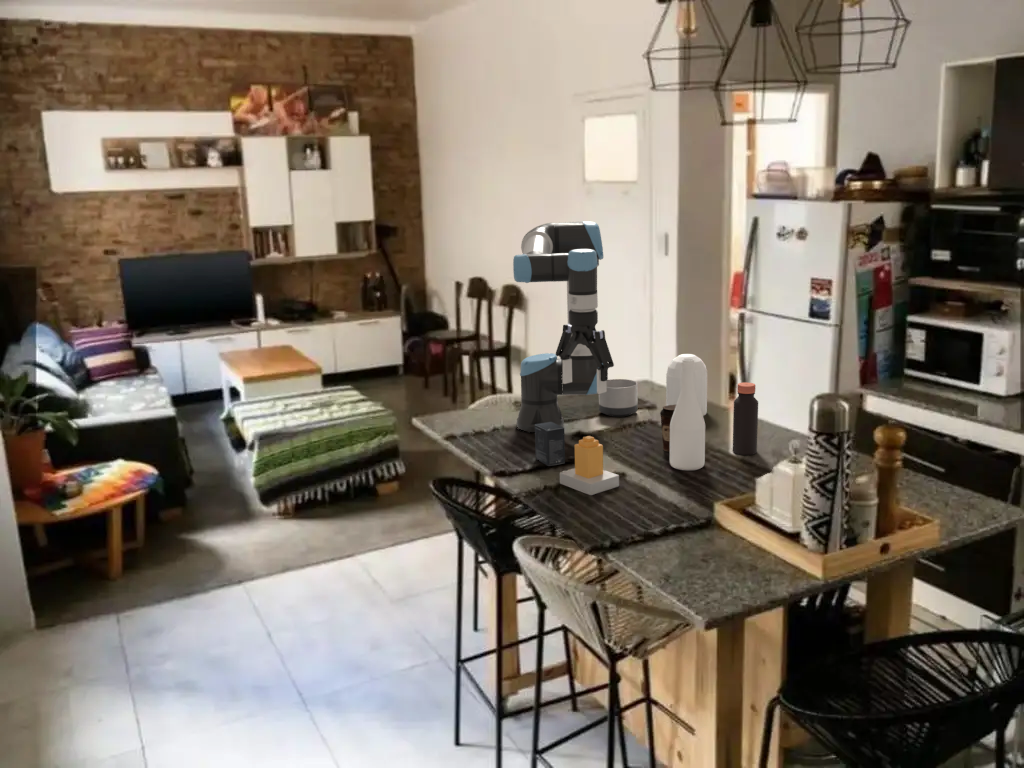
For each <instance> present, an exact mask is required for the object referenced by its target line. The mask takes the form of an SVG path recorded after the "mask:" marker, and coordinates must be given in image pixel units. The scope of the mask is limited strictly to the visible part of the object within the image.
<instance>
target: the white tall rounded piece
mask: <svg viewBox="0 0 1024 768" xmlns="http://www.w3.org/2000/svg"><path fill="white" fill-rule="evenodd" d="M681 367H682V388H681V393H680V396H679V399H678V402H677V405H676V407H675V410H674V413H673V416H672V419H671V422H670V452H669V465H670V466H671V467H672V468H674V469H676V470H680V471H697V470H700V469H701V468H703V467H704V466H705V462H706V461H705V460H706V458H705V457H706V423H705V418H704V416H703V415H702V412H701V409H700V406H699V403H698V400H697V397H696V394H695V388H694V368H695V361H694V359H683V360H682V362H681Z"/></svg>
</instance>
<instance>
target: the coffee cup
mask: <svg viewBox="0 0 1024 768" xmlns="http://www.w3.org/2000/svg"><path fill="white" fill-rule="evenodd" d="M675 407H676V405H668V406H666V405H663V406H662V409H661V410H660V413H659V414H660V424H661V425H660V426H661V439H662V447H663V450H664V451H665V452H668V453H670V422H671V419H672V416H673V413H674V410H675Z"/></svg>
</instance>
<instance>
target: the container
mask: <svg viewBox="0 0 1024 768" xmlns="http://www.w3.org/2000/svg"><path fill="white" fill-rule="evenodd" d="M683 359H694V361H695V368H694V388H695V394H696V397H697V400H698V403H699V406H700V409H701V412H702V415H703V417H704V416H706V415H707V413H708V412H707V411H708V410H707V409H708V406H707V405H708V369H707V365H706V364H705V362H704V361H703V360H702V358H700V357H699V356H698V355H696V354H693V353H682V354H679V355H677V356H676V357H674V358H672V360H671V362H670V363H669V364H668V366H667V370H666V374H665V375H666V376H665V377H666V380H665V381H666V382H665V383H666V385H665V386H666V390H665V391H666V393H665V395H666V396H665V399H666V401H665V406H668V405H677V402H678V399H679V396H680V393H681V388H682V367H681V362H682V360H683Z"/></svg>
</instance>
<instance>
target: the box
mask: <svg viewBox="0 0 1024 768" xmlns="http://www.w3.org/2000/svg"><path fill="white" fill-rule="evenodd" d="M534 444H535V448H534V449H535V450H534V451H535V460H537V461H538V460H539V462H540V463H542V464H544V465H545V466H548V467H551V466H557V465H562V464H566V443H565V427H564V426H563V427H561V426H559V425H557V424H555V423H553V422H547V423H540V424H535V433H534Z"/></svg>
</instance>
